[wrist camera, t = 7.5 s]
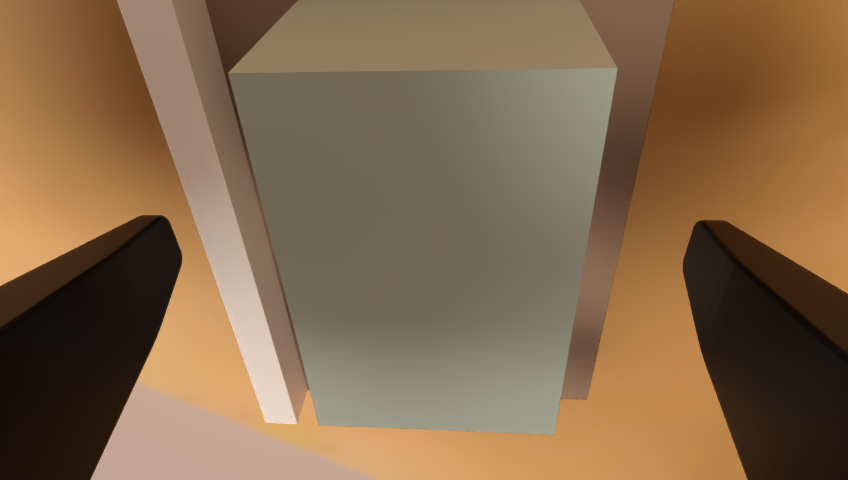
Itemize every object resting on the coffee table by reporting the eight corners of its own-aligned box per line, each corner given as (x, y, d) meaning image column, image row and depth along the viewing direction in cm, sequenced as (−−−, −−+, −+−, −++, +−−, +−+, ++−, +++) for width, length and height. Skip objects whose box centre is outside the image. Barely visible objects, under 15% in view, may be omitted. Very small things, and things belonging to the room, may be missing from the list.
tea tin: (561, -31, 10) (617, 68, 6) (532, 264, 14) (554, 435, 10) (313, -24, 11) (215, 73, 7) (355, 261, 15) (311, 425, 11)
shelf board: (581, 369, 18) (587, 399, 18) (287, 360, 19) (277, 388, 18) (752, -492, 8) (791, -534, 7) (65, -429, 8) (12, -458, 8)
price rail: (315, 361, 19) (297, 424, 17) (283, 360, 19) (260, 422, 17) (126, -435, 8) (20, -512, 6) (55, -427, 8) (-73, -501, 6)
